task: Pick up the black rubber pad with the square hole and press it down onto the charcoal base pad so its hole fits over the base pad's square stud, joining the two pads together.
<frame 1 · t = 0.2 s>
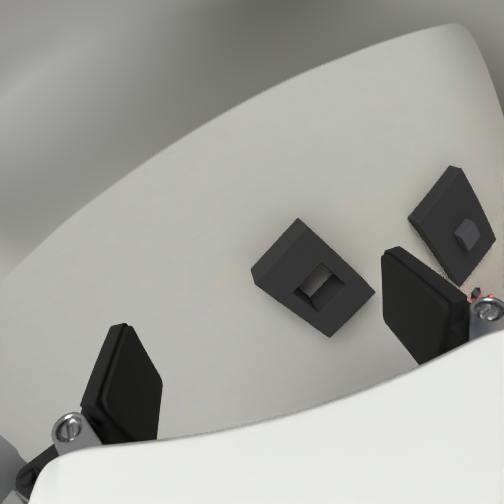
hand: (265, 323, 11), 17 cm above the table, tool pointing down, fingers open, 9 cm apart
base pad: (452, 226, 30), on the table
top pad: (310, 274, 30), on the table
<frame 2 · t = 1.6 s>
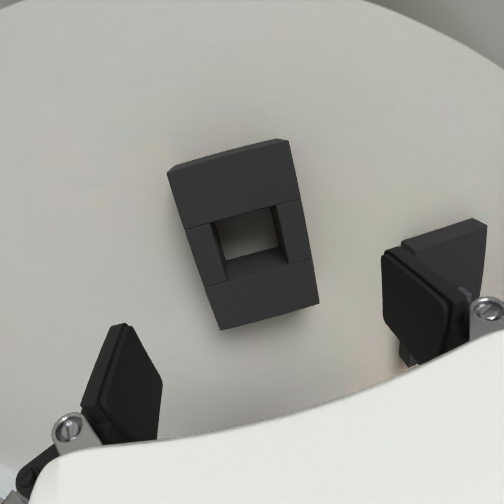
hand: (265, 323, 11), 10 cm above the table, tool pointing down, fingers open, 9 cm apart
base pad: (437, 290, 24), on the table
top pad: (245, 227, 20), on the table
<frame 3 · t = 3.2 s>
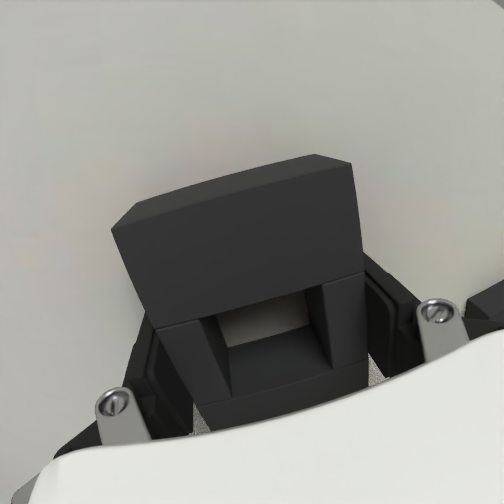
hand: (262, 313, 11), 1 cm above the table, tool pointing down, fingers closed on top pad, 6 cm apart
base pad: (491, 347, 16), on the table
top pad: (259, 301, 12), on the table, touching gripper
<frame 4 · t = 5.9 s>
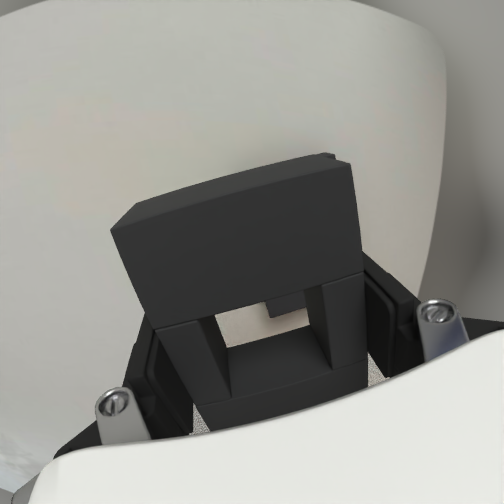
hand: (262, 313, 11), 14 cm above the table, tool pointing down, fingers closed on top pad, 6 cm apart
base pad: (295, 233, 26), on the table
top pad: (258, 301, 12), point 14 cm above the table, touching gripper
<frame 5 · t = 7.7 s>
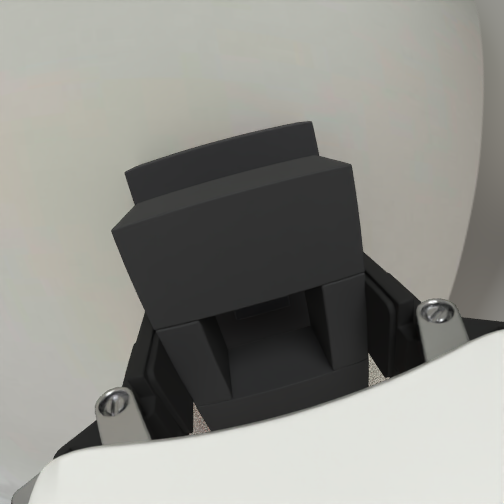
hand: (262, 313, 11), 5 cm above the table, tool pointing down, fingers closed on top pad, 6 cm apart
base pad: (247, 257, 16), on the table
top pad: (259, 302, 12), point 4 cm above the table, touching gripper
when the fingers open (3 cm above the table, at t = 9.0 s): top pad stays where it is, resting on base pad.
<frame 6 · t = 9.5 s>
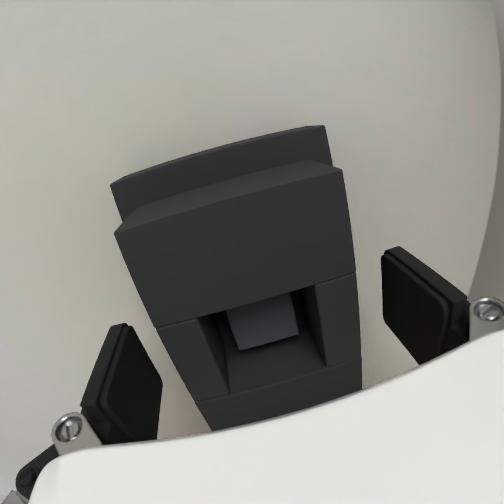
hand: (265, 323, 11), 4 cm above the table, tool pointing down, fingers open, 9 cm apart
base pad: (250, 277, 14), on the table, touching top pad
top pad: (255, 301, 13), point 2 cm above the table, touching base pad
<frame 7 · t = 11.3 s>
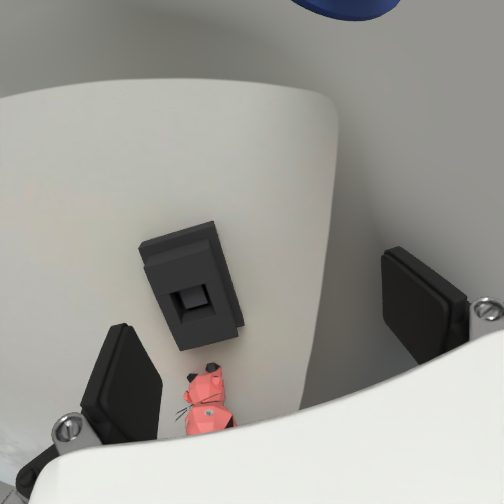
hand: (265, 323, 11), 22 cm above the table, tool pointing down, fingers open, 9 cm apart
base pad: (194, 281, 34), on the table, touching top pad
top pad: (193, 290, 32), point 2 cm above the table, touching base pad
cat figurine: (207, 376, 39), on the table
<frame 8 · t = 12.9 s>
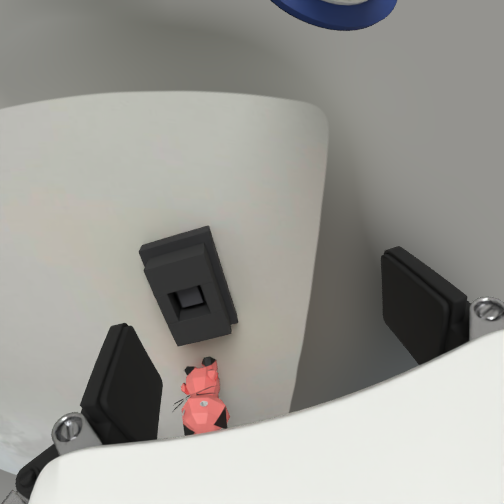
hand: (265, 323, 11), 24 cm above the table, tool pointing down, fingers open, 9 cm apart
base pad: (191, 281, 36), on the table, touching top pad
top pad: (190, 290, 35), point 2 cm above the table, touching base pad
cat figurine: (204, 369, 42), on the table
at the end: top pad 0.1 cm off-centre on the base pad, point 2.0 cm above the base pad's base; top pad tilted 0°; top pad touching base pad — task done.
